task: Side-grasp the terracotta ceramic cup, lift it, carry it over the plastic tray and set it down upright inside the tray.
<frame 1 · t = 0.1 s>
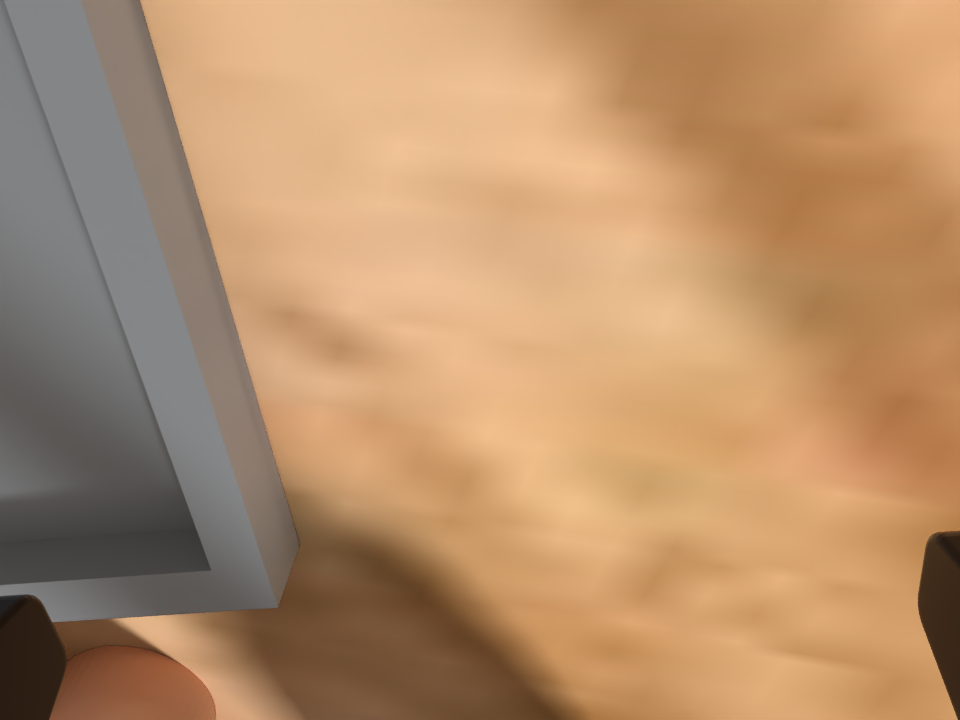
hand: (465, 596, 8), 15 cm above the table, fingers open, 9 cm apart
terracotta cup: (136, 703, 31), on the table
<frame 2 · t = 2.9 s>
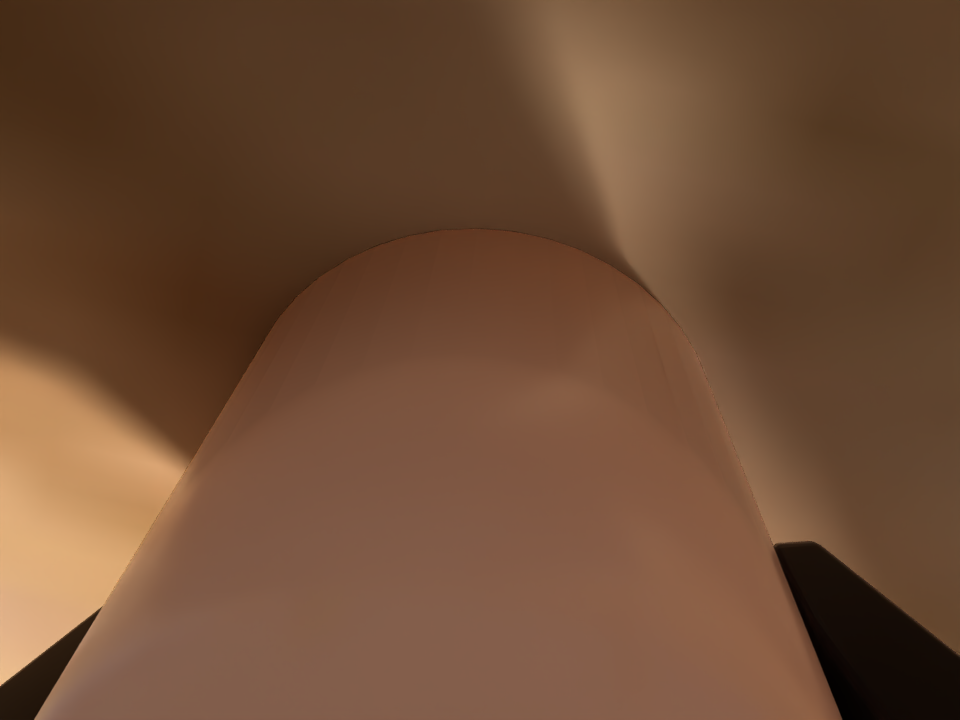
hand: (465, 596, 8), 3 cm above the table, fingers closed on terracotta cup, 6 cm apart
terracotta cup: (477, 452, 11), on the table, touching gripper
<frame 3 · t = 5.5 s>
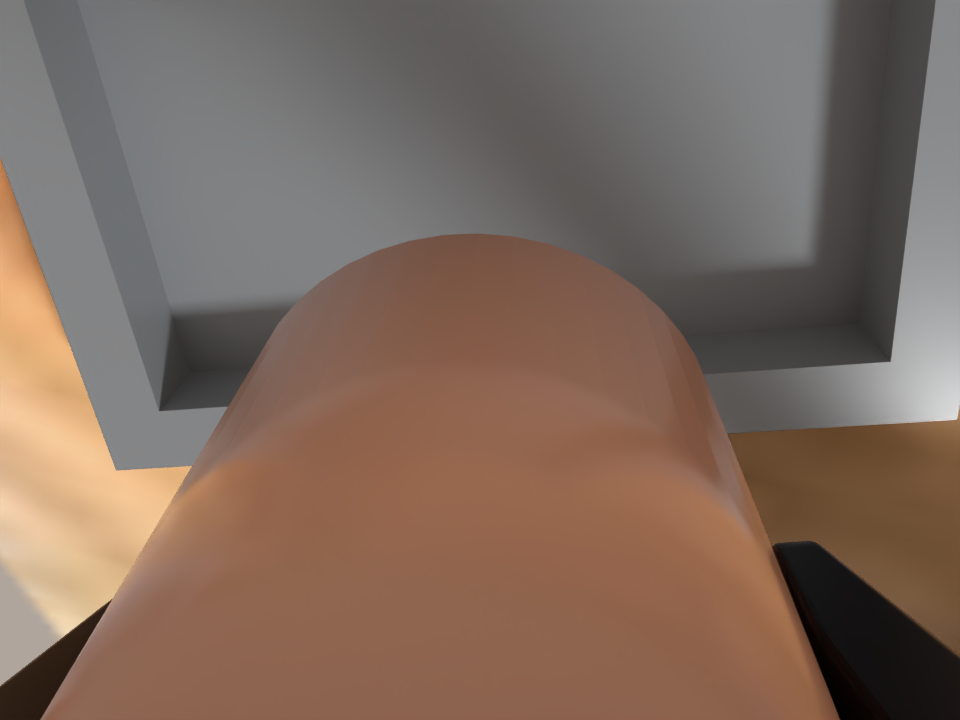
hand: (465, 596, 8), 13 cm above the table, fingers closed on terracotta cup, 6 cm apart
terracotta cup: (477, 456, 11), point 11 cm above the table, touching gripper
when the fingers open (5 cm above the table, at t = 8.2 s): terracotta cup drops 1 cm, resting on tray.
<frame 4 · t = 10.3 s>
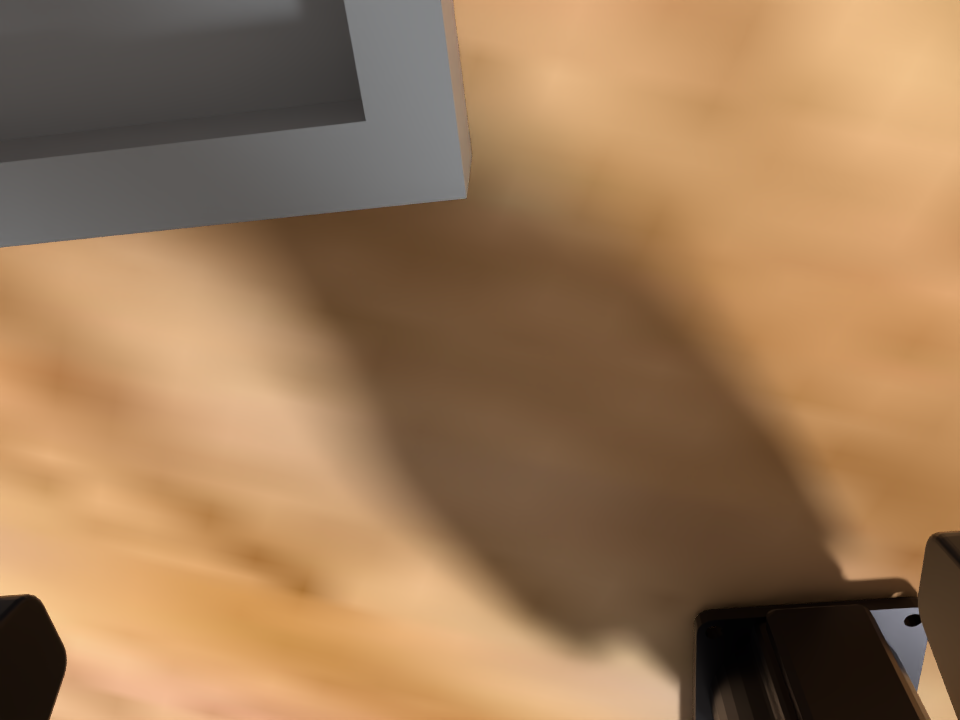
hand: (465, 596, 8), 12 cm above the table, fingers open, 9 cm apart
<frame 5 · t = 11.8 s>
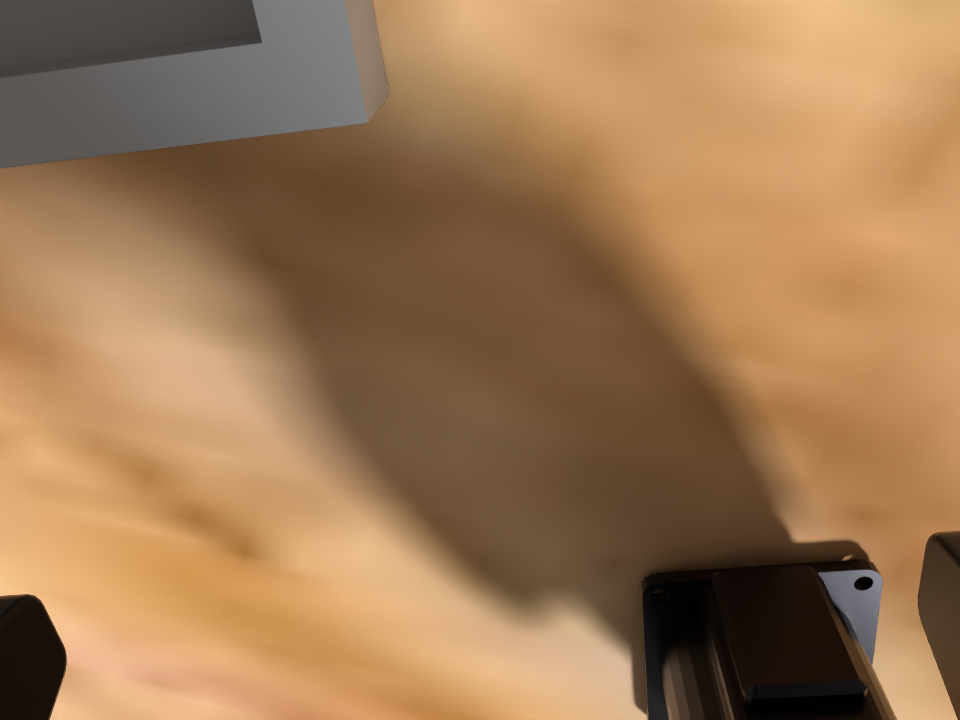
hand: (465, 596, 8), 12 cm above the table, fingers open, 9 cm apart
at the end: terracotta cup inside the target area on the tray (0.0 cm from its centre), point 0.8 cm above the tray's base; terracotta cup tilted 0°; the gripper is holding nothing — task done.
